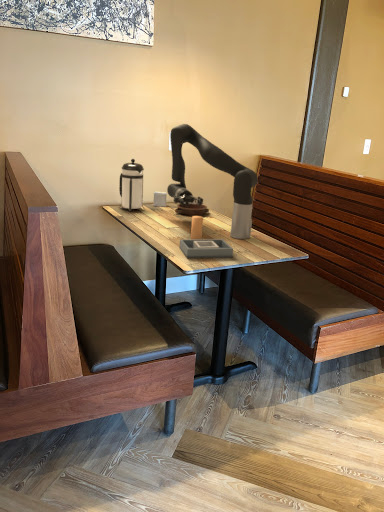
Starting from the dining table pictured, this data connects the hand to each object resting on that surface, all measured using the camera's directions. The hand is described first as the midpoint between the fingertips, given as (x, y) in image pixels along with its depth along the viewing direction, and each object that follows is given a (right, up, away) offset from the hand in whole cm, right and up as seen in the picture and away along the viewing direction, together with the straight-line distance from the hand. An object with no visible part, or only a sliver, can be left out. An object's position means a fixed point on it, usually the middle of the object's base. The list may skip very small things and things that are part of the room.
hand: (191, 203), depth 202 cm
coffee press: (-37, +3, +51) cm, 63 cm away
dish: (0, 0, +51) cm, 51 cm away
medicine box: (-21, +6, +65) cm, 69 cm away
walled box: (+6, -24, -20) cm, 32 cm away
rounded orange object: (+2, -19, -5) cm, 20 cm away
